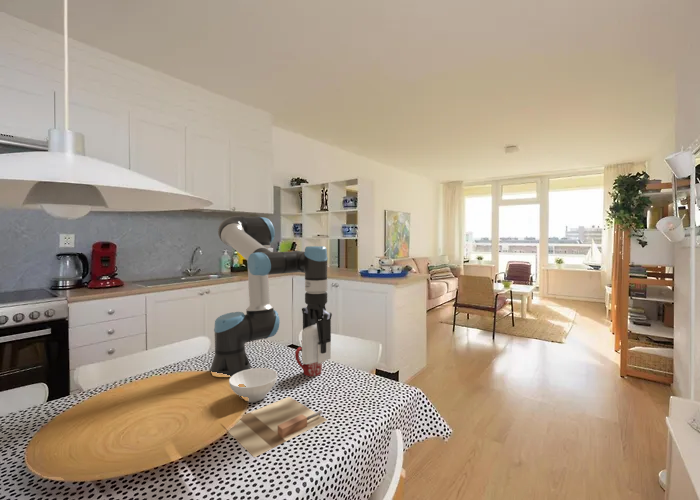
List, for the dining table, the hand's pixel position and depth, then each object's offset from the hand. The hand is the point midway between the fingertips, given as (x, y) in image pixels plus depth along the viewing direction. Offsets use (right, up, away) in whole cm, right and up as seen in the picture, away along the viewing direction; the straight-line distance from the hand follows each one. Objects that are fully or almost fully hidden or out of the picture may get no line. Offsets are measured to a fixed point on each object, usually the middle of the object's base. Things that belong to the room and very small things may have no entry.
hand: (316, 359), depth 110 cm
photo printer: (0, -1, 0) cm, 1 cm away
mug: (-5, -13, +20) cm, 24 cm away
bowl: (-22, -14, +1) cm, 26 cm away
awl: (-2, -12, -19) cm, 23 cm away
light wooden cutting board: (-10, -14, -17) cm, 24 cm away
